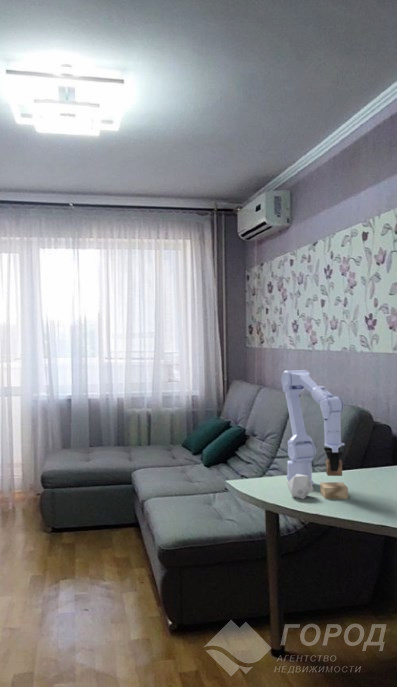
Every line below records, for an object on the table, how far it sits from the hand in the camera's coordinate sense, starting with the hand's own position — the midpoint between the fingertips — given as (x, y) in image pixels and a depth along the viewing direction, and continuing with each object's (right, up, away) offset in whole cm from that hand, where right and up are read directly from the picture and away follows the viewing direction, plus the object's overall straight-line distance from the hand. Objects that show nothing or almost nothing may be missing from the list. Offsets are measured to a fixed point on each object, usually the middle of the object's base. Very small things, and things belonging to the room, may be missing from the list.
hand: (333, 469), depth 202 cm
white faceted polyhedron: (-12, -10, -1) cm, 15 cm away
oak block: (0, -10, 0) cm, 10 cm away
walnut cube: (0, -2, 0) cm, 2 cm away
